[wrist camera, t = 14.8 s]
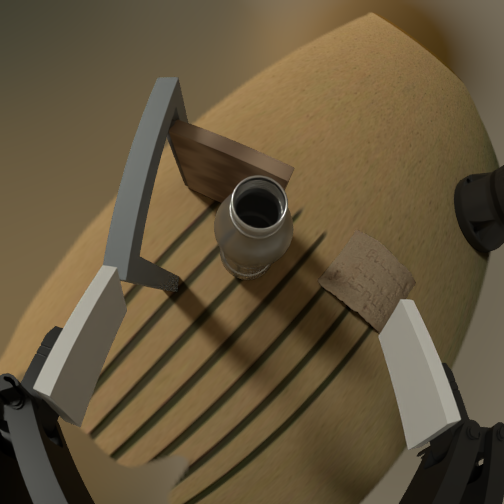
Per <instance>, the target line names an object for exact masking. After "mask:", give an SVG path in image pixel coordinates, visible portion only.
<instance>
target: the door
mask: <svg viewBox="0 0 504 504" xmlns="http://www.w3.org/2000/svg"><path fill="white" fill-rule="evenodd" d="M167 139H168V142H169V144H170V147H171V150H172V152H173V155H174V158H175V160H176V163H177V165H178V168H179V171H180V173H181V176H182V178H183V181H184V184H185V185H186V186H188V187H189V188H190V189H192V190H194V191H196V192H199V193H201V194H203V195H205V196H207V197H209V198H212V199H214V200H216V201H218V202H220V203H222V202H223V201H224V200H225V199H226V198H227V197H228V196H229V195H230V194H232V193H233V191H234V189H235V187H236V186H237V185H238V184H239V183H240V182H241V181H242V180H244V179H245V178H248V177H250V176H255V175H262V176H267V177H269V178H272V179H273V180H275V181H276V182H278V183H279V184H280V185H281V187H282V188H283V189H284V191H285V189H286V186H287V184H288V182H289V180H290V177H291V175H292V173H293V171H294V167H292V166H290V165H288V164H285V163H283V162H281V161H279V160H277V159H275V158H272V157H270V156H268V155H266V154H263V153H261V152H259V151H257V150H254V149H252V148H250V147H247V146H245V145H243V144H240V143H238V142H235V141H233V140H231V139H228V138H226V137H223V136H221V135H218V134H215V133H213V132H210V131H208V130H205V129H202V128H200V127H197V126H194V125H192V124H189V123H186V122H183V121H180V120H178V119H177V120H176V121H174V120H173V119H172V121H171V124H170V127H169V130H168V134H167Z"/></svg>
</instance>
